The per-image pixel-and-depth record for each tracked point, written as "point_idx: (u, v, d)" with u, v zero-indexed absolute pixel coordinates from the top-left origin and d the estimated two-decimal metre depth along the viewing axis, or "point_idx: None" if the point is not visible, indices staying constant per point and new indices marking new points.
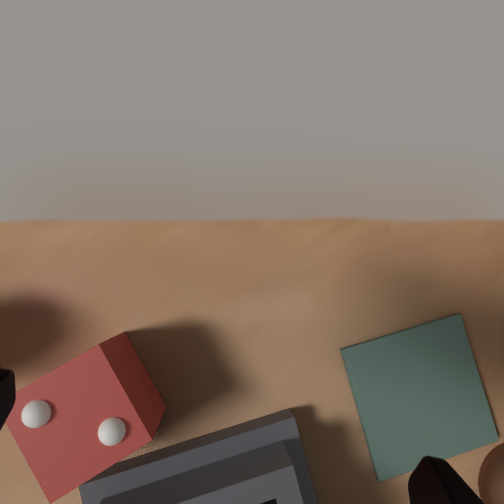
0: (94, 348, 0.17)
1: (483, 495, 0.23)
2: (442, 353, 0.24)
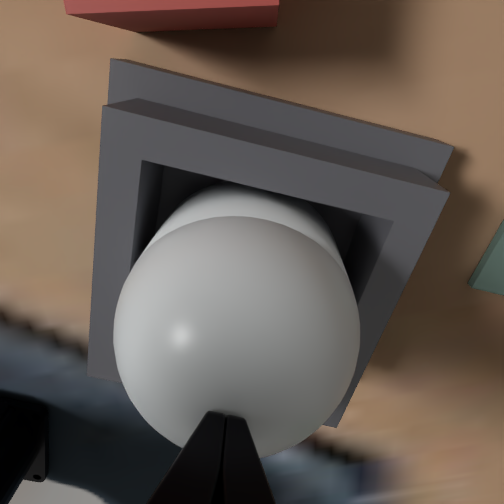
0: None
1: None
2: None
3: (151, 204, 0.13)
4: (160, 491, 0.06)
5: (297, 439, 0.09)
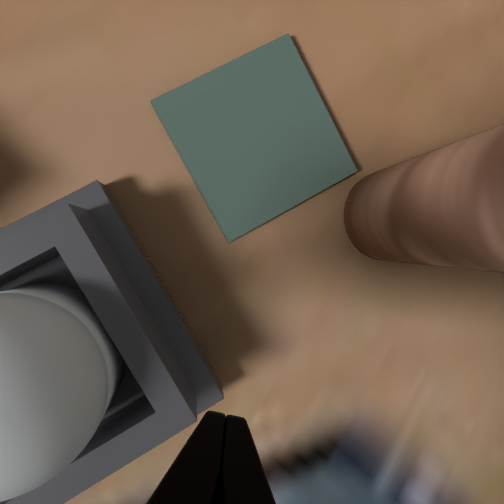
0: None
1: (349, 234, 0.21)
2: (275, 84, 0.20)
3: None
4: (160, 490, 0.06)
5: (34, 414, 0.11)
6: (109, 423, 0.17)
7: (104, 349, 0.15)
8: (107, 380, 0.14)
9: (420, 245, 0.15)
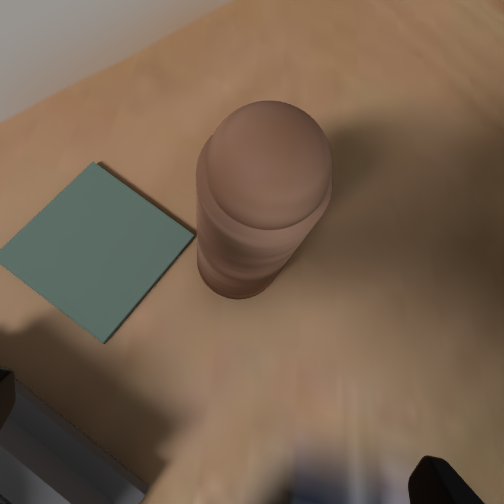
0: None
1: (211, 287, 0.23)
2: (96, 200, 0.23)
3: None
4: None
5: None
6: None
7: None
8: None
9: (227, 265, 0.17)
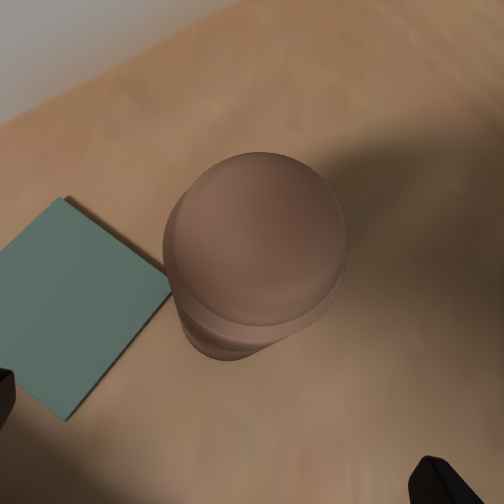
0: None
1: (196, 348, 0.19)
2: (61, 244, 0.20)
3: None
4: None
5: None
6: None
7: None
8: None
9: (210, 344, 0.13)
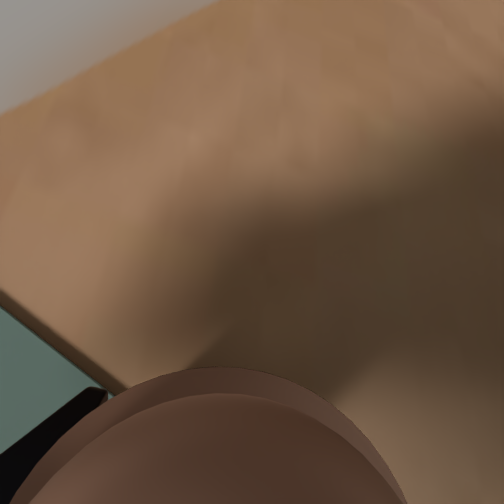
0: None
1: None
2: None
3: None
4: None
5: None
6: None
7: None
8: None
9: None
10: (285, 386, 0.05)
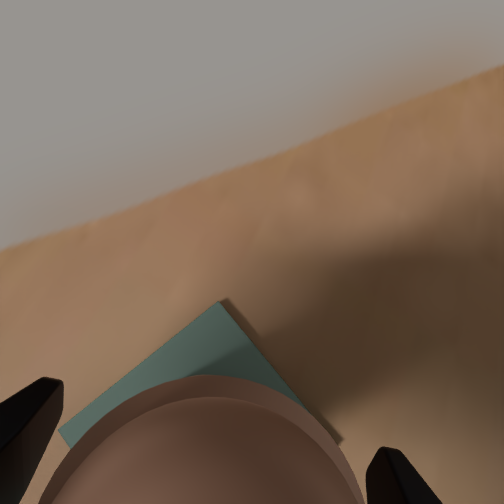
0: None
1: None
2: (213, 364, 0.16)
3: None
4: None
5: None
6: None
7: None
8: None
9: None
10: (263, 390, 0.06)
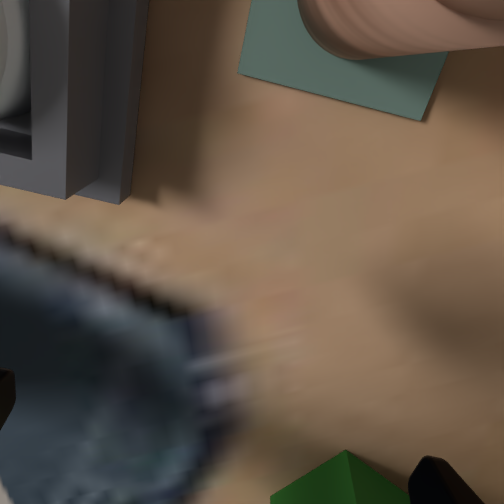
0: None
1: None
2: None
3: None
4: None
5: None
6: None
7: (15, 57, 0.12)
8: None
9: None
10: None
